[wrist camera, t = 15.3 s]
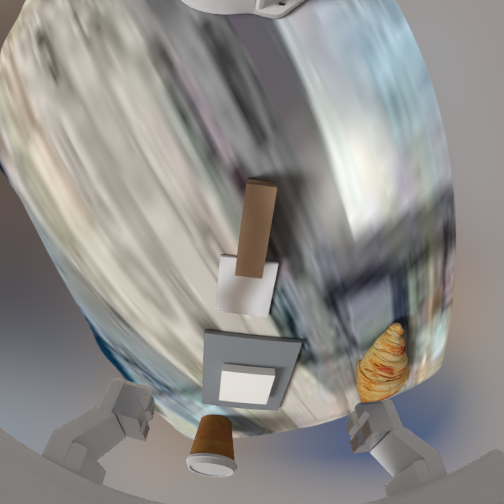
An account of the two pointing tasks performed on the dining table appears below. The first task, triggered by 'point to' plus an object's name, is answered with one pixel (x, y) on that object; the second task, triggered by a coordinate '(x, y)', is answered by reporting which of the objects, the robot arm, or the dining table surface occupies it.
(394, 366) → the croissant
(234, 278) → the wooden handled scraper
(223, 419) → the disposable coffee cup
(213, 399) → the slate board
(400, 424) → the robot arm
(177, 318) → the dining table surface
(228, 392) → the tile
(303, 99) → the dining table surface
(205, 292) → the dining table surface
